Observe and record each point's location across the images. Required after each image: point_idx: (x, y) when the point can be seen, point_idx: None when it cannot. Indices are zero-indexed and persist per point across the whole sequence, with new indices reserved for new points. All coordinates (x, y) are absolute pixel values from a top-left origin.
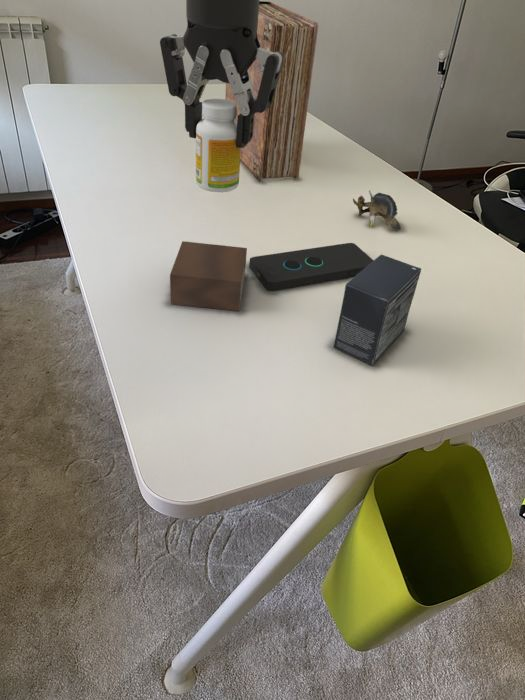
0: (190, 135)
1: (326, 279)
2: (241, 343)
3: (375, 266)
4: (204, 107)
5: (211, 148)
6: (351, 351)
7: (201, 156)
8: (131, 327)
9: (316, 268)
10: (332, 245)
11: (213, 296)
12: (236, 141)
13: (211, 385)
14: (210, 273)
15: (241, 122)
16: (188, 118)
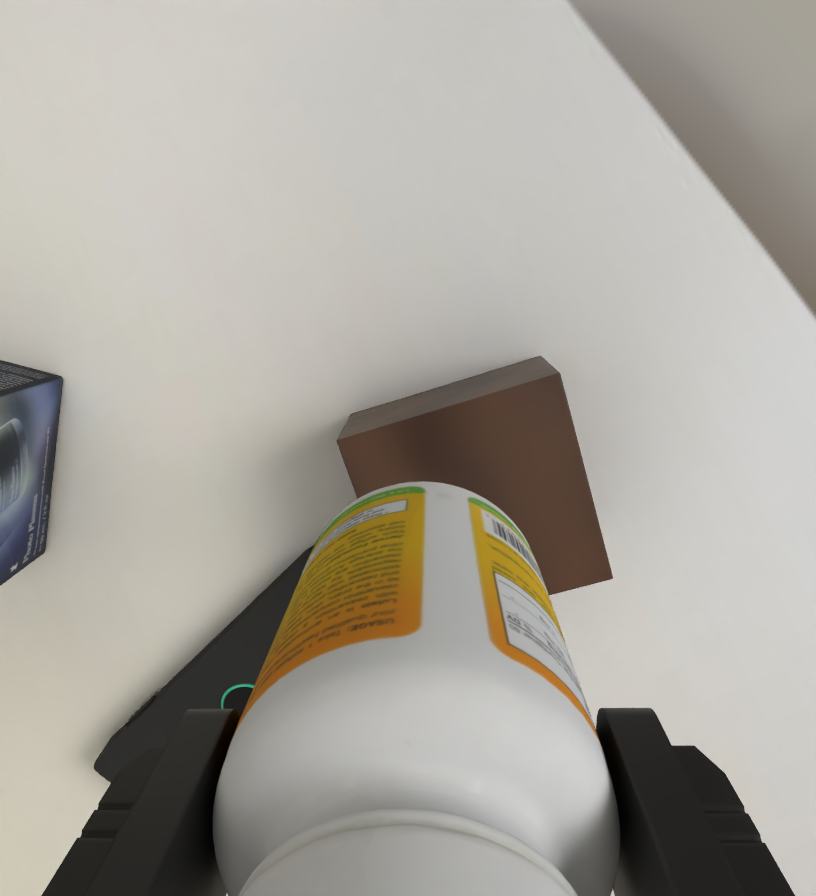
0: (640, 710)
1: (197, 655)
2: (281, 279)
3: None
4: None
5: (396, 598)
6: (1, 365)
7: (483, 568)
8: (593, 196)
9: (227, 677)
10: None
11: (420, 400)
12: (218, 728)
13: (270, 62)
14: (444, 441)
15: (110, 881)
16: (725, 844)
